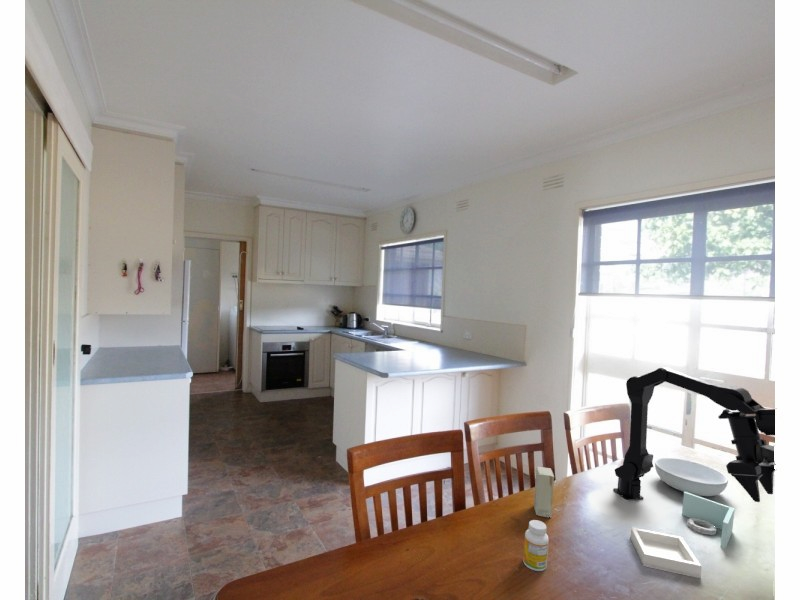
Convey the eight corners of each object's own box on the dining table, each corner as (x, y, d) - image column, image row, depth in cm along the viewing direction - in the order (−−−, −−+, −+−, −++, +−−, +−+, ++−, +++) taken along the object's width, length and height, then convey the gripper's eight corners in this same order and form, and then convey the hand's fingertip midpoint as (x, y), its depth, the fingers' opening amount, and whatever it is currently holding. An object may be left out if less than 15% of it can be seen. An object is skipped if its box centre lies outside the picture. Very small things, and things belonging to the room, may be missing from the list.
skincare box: (551, 518, 120) (554, 477, 119) (535, 516, 121) (539, 474, 120) (548, 507, 126) (551, 467, 126) (533, 504, 127) (536, 465, 126)
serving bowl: (722, 486, 148) (724, 467, 148) (730, 512, 130) (732, 490, 130) (653, 469, 159) (655, 452, 159) (652, 491, 141) (654, 471, 141)
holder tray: (630, 537, 113) (631, 527, 112) (680, 547, 109) (681, 536, 109) (643, 566, 101) (644, 554, 101) (700, 578, 98) (701, 565, 98)
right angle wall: (682, 515, 127) (684, 491, 127) (732, 534, 119) (734, 508, 119) (672, 530, 119) (674, 504, 119) (725, 551, 110) (727, 523, 110)
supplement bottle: (525, 553, 103) (528, 515, 103) (548, 562, 100) (551, 523, 100) (520, 565, 98) (523, 525, 98) (543, 575, 96) (547, 534, 95)
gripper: (771, 441, 100) (792, 511, 97) (796, 430, 110) (816, 494, 107) (718, 440, 109) (735, 504, 106) (745, 430, 119) (762, 489, 116)
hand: (764, 497), depth 108 cm, fingers open, 9 cm apart
